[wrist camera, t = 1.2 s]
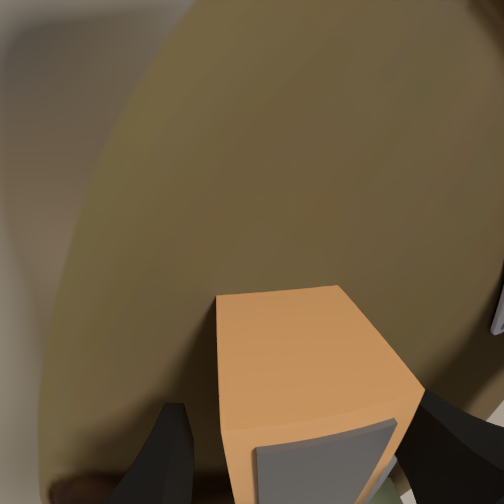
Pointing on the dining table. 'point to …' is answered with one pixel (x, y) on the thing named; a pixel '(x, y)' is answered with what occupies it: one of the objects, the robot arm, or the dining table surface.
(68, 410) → the dining table surface
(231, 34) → the dining table surface
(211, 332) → the dining table surface
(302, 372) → the orange box grey panel
